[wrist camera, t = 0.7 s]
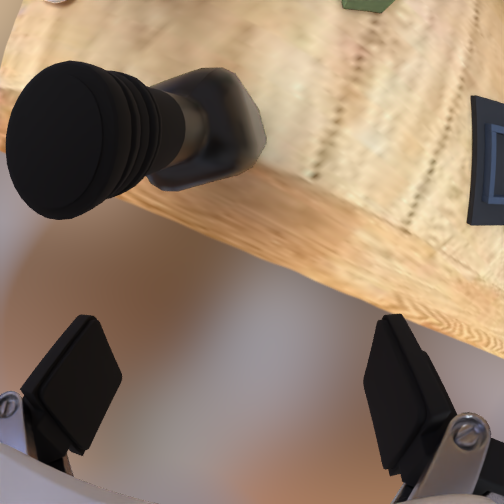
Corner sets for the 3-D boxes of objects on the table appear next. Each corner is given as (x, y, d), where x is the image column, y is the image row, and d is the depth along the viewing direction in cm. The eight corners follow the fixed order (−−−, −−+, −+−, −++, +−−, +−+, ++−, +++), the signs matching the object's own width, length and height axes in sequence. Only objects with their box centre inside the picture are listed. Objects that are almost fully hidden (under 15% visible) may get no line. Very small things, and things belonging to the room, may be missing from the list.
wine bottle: (269, 147, 32) (244, 254, 5) (220, 159, 33) (21, 301, 5) (256, 100, 30) (158, -55, 2) (208, 113, 31) (-38, 91, 3)
